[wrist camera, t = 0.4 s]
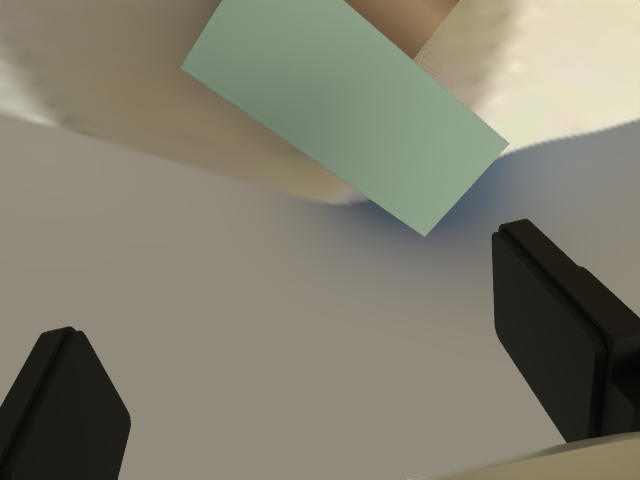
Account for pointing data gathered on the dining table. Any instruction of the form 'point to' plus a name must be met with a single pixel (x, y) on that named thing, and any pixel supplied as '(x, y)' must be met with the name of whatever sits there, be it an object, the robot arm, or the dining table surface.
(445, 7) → the socket block
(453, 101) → the green topped stand
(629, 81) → the dining table surface
